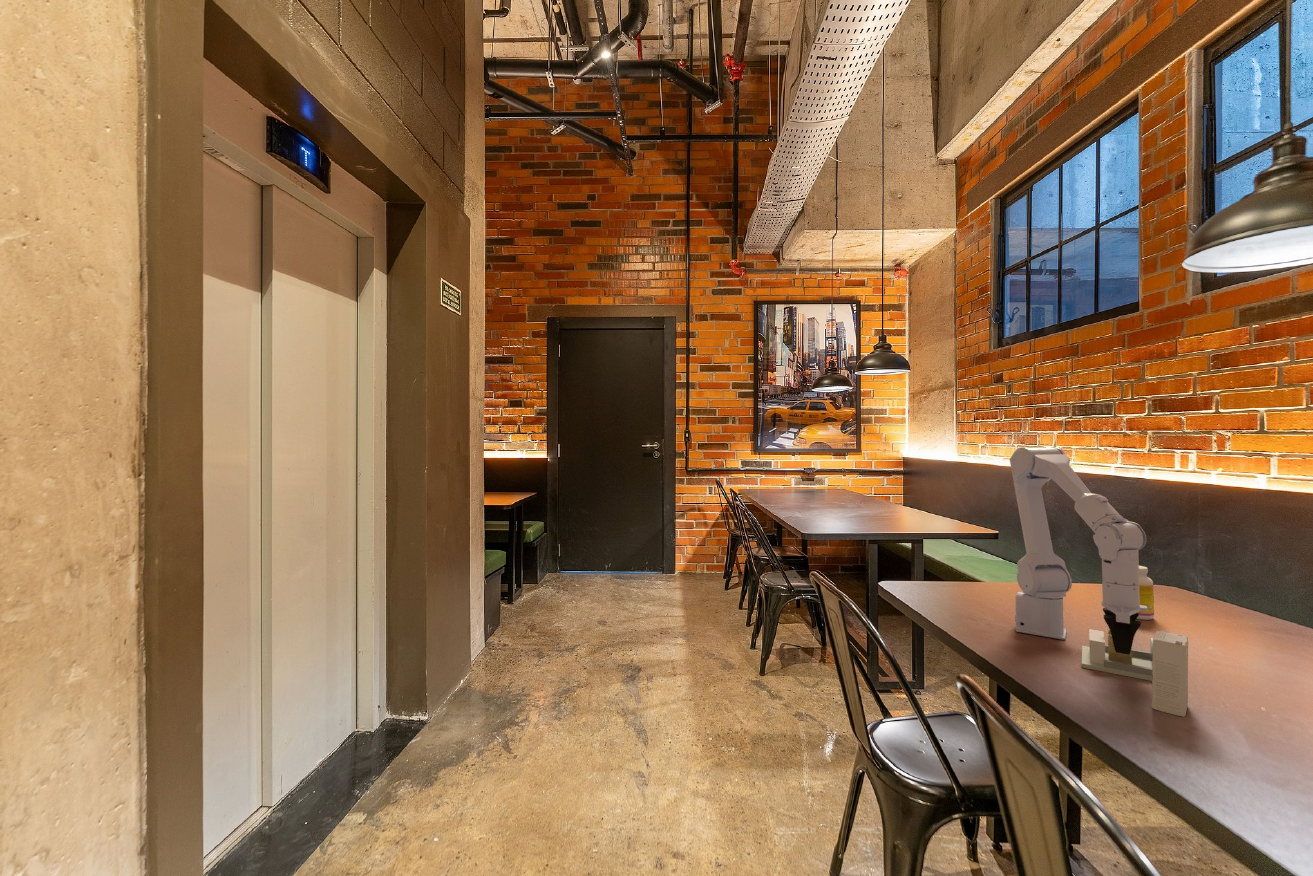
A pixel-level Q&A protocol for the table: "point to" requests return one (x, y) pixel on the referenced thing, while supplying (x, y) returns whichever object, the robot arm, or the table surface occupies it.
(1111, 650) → the block
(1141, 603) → the supplement bottle
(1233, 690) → the table surface
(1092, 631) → the vise
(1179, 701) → the skincare box
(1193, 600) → the table surface
